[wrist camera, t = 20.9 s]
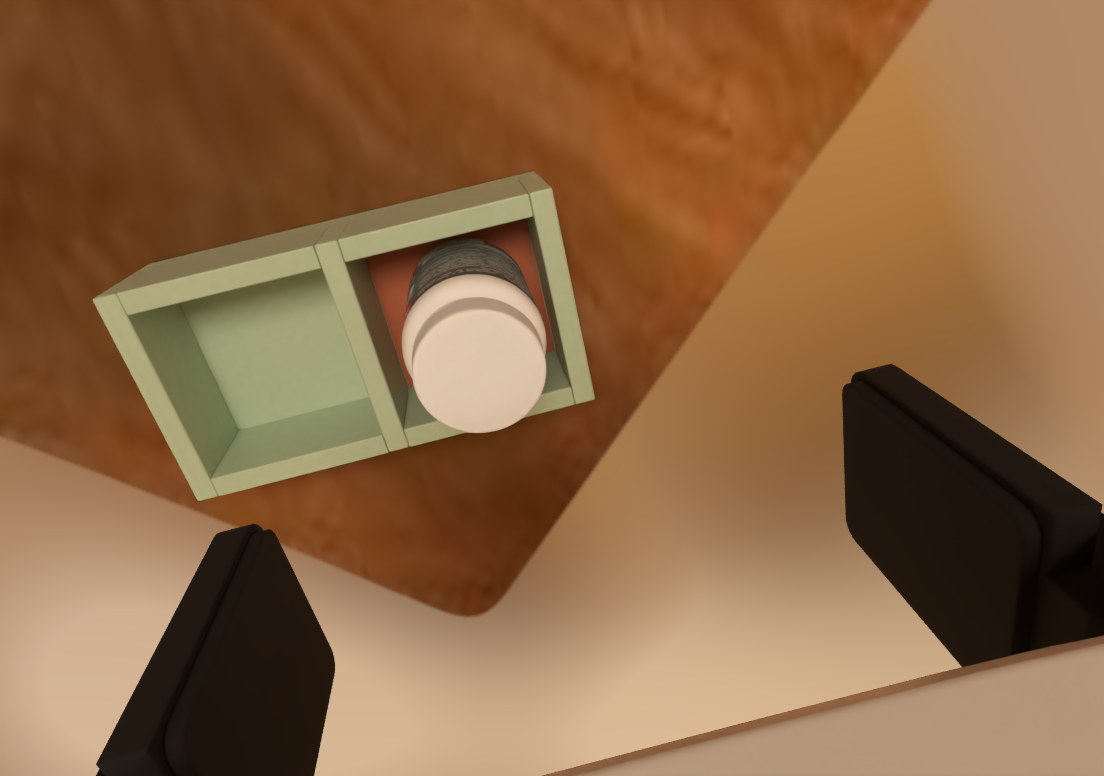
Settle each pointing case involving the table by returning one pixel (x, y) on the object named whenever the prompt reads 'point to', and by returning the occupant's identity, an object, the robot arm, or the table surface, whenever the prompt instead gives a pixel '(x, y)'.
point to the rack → (323, 334)
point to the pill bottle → (473, 337)
